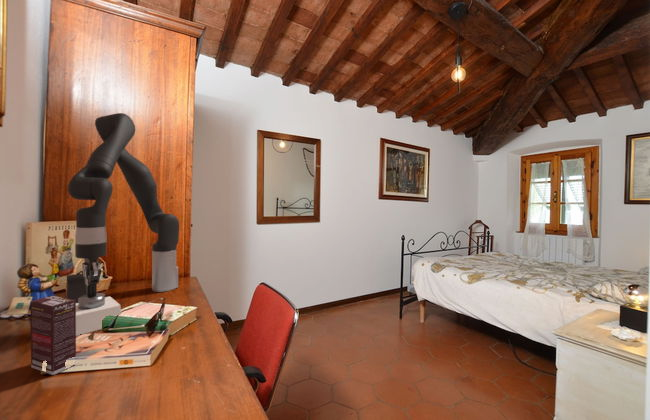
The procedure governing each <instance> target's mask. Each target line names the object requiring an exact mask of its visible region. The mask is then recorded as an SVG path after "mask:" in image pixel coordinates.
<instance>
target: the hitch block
mask: <svg viewBox="0 0 650 420" xmlns="http://www.w3.org/2000/svg"><path fill="white" fill-rule="evenodd" d="M121 312H122V307H121V304H120V303H119V302H117V300H115V299H114V298H113V297H111V296H105V304H104V305H103V306H101V307H98V308H94V309H88V310H81V309H78V303H76V337H79V336H81V335H80V334H82V335H84V334H89V333H92V332H93V333H94V332H96V331H99V330H103V329H102V320H103V319H104V318H105V317H106V316H109V315H121V314H122V313H121ZM121 316H122V315H121Z"/></svg>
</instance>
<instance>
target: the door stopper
mask: <svg viewBox="0 0 650 420" xmlns="http://www.w3.org/2000/svg"><path fill="white" fill-rule="evenodd" d="M85 282H86V281H84V276H83V273H77V274H70V275H66V298H68V299H73V300H76V303H78V298H79V297H81V296H83V295H87V288H86V284H85Z"/></svg>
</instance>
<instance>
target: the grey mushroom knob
mask: <svg viewBox="0 0 650 420" xmlns="http://www.w3.org/2000/svg"><path fill="white" fill-rule="evenodd" d="M105 297H106V294H105V293H104V292H97V295H96V296H94V297H87V295H83V296H81V297H79V298H78V309H81V310H88V309H94V308H98V307H101V306H103V305H104V304H105Z"/></svg>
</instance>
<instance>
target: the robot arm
mask: <svg viewBox="0 0 650 420" xmlns="http://www.w3.org/2000/svg"><path fill="white" fill-rule="evenodd" d="M94 121H95V122H94V126H95V128H96V131H97V133H98V135H99V136H100V139H101V140H102V141H103V142H101V143H100V144H99V145H98V146H97V147H96V148H95V149H94V150H93V151H92V153H91V154H90V155H89V158H88V160H87V162H86V164H85V166H83V167H82V168H81V169H80V170H79V171H78V172H77V173H76V174H74V175H73V176H72V177H71V179H70V180H69V182H68V186H67V192H68V194H69V196H70V197H71V198H72V199H75V200H80V201H82V200H83V201H95V202H94V203H93V204H92V206H89V207H88V206H86V207H81V208H79V209H77V210H76V215H75V217H76V218H75V225H76V228H75V235H74V236H75V237H74V238H75V239H74V241H75V243H74V245H75V246H74V247H75V248H74V249H75V251H74V252H75V253H74V254H75V258H77V259H82V260H83V262H82V263H81V267H82V274H83V276H84V281H86V282H85V284H86V288H87V297H94V296H96V295H97V293H98V292H97V285H98V284H99V282H100V280H101V277H102V276H101V275H102V272H103V271H102V269H101V266H102V263H101V262H99V258H101V257H105V256H106V255H108V254H107V253H108V252H107V251H108V249H107V247H108V246H107V245H108V244H107V237H108V236H107V234H108V233H107V228H106V222H107V221H106V218H107V217H106V215H107V211H108V210H107V209H108V206H109V204H110V203H109V202H110V200H111V198H112V195H113V192H114V191H113V188H114V187H113V184H112V182H111V181H110V180H109V179H110V178H111V177H112V175H113V171H114V169H115V168H116V167H115V166H116V164H117V166H118V167H119V169H120V171H121V173H122V175H123V176H124V179H125V181H126V183H127V185H128V186H129V188H130V190H131V192H132V193H133V195H134V198H135V199H136V201H137V203H138V204H139V207H140V209H141V211H142V213H143V215H144V217H145V222H146V223H147V225H148V227H149V230H150V231H151V232H153V233H155V234H156V235H157V241H156V242H155V243H153V244H152V246H151V247H152V248H151V249H152V250H151V255H152V258H151V260H152V261H151V263H152V265H151V267H152V270H151V274H152V275H151V278H152V279H151V280H152V281H151V282H152V283H151V284H152V285H151V288H152V292H155V293H156V292H157V293H159V292H160V293H161V292H168V291H173V290H175V289H176V288H179V266H177V246H178V243H179V237H180V221H179V219H178V217H177V216H176V215H174V214H171V213H165V212H164V211H163V209H162V207H161V206H160V204H159V200H158V192H157V191H158V189H157V183H156V180H155V178H154V176H153V174H152V171H151V170H150V169H149V166H147V165H146V164H144V163H143V162H142V161H140V160H139V159H137V157H135V156H133V155H132V154H131V153H130V152H129V151H128V150H127V149H126V147H127V146H128V144H129V143H130V141H131V140H132V139H133V137H134V136H135V133H136V126H135V125H136V124H135V122H134V120H133V119H132V118H131V117H130V116H129V115H128V114H126V113H123V112H121V113H120V112H118V113H113V114H108V115H102V116H100V117H97V118H96V119H95V120H94Z"/></svg>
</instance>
